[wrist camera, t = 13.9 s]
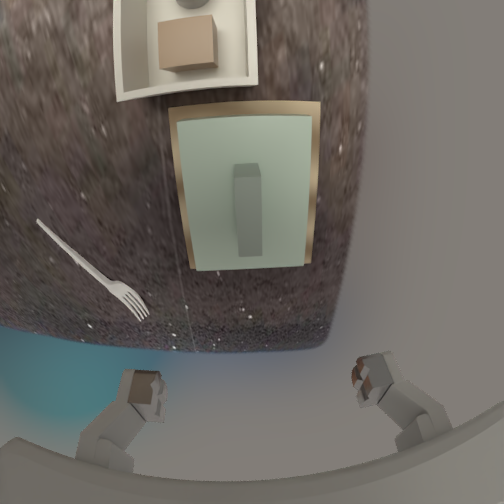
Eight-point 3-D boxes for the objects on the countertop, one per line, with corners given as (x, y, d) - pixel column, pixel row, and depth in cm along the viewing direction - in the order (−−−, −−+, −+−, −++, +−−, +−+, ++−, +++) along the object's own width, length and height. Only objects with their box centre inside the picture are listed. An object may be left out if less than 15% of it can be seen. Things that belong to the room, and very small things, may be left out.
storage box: (253, 86, 22) (258, 84, 16) (146, 97, 22) (117, 102, 16) (248, -38, 15) (252, -71, 9) (143, -24, 14) (117, -49, 8)
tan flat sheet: (310, 261, 33) (310, 262, 32) (190, 266, 33) (190, 269, 32) (319, 101, 23) (320, 101, 23) (168, 107, 23) (168, 108, 22)
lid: (299, 253, 32) (311, 290, 26) (199, 258, 31) (192, 296, 26) (305, 114, 23) (325, 121, 18) (181, 119, 23) (164, 128, 18)
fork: (43, 208, 28) (35, 214, 26) (154, 303, 36) (151, 312, 34) (35, 224, 29) (28, 231, 27) (142, 314, 37) (139, 323, 35)
